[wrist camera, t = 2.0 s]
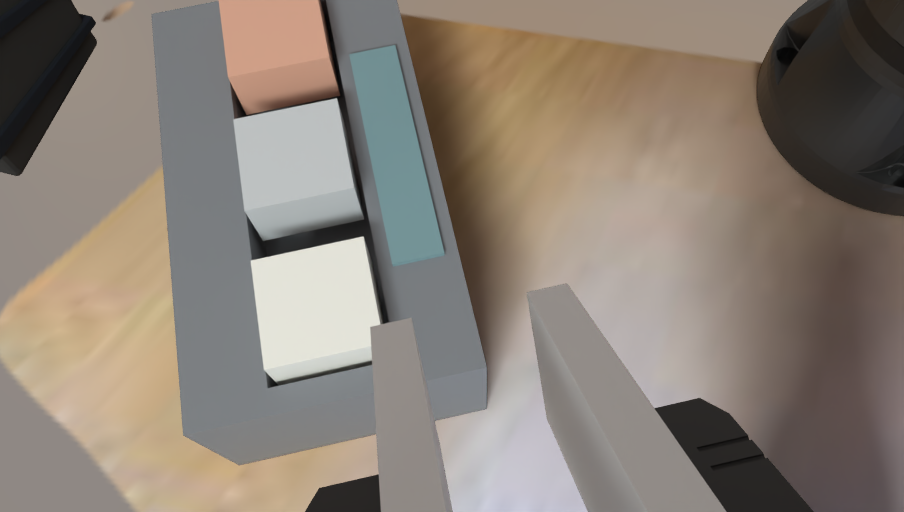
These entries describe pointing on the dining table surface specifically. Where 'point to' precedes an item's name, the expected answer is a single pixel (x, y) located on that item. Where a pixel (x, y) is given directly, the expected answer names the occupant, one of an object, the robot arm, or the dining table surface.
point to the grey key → (297, 170)
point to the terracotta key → (277, 53)
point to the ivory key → (316, 310)
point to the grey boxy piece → (304, 239)
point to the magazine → (37, 71)
